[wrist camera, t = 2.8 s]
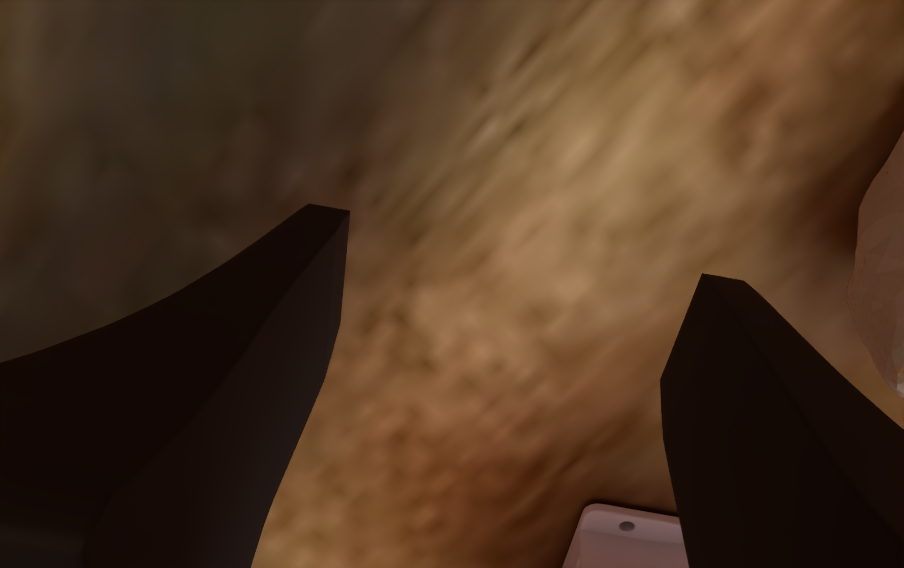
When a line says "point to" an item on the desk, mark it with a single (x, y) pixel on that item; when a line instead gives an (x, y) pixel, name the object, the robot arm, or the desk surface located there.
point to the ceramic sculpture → (882, 270)
